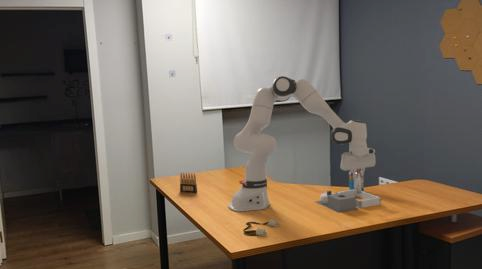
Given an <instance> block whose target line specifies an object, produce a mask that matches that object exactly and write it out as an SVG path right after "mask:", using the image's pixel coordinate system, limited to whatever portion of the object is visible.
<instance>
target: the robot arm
mask: <svg viewBox="0 0 482 269" xmlns="http://www.w3.org/2000/svg"><path fill="white" fill-rule="evenodd" d="M291 97H293V98H294V99H295V100H297V101H298V102H299V104H300V105H301V107H303V108H304V109H305V110H306V111H307V112H309V113H310V114H314V115H318V116H320V117H321V118H323V119H324V120H325V121H326V122H327V123H328V124H329V125H330V126H331V127H332V130H331V132H330V139H331V141H332V142H333V143H334V144H335V145H345V144H346V145H347V144H349V146H348V148H349V149H348V150H349V151H347V152H343V153H342V154H341V158H340V159H341V160H340V166H339V167H340V170H342V171H344V172H345V171H350V170H351V172H352V173H353V177H354V178H355V177H357V174H356V173H355V171H356V169H361V171H360V176H363V173H364V174H365V171H366V168H367V169H368V168H372V167H373V168H374V167H375V166H376V162H377V161H376V155H375V153H376V150H375V149H374V148H370V147H369V146H368V144H367V138H368V131H367V130H368V129H367V124H366V122H365V121H363V120H361V119H350V120H349V121H348V122H346V121H344V120H343V119H342V118H341V117H340V116H339V115H338V114H337V113H336V112H335V111H334V110H333V109H332V108H331V107H330V105H329V104H328V103H327V102H326V101H325V98H323V97H322V95H321V94H320V92H319V91H318V90H317V89H316V87H314V86H313V84H311V83H310V82H309V81H307V80H306V79H303V78H301V79H297V80H294V79H292V78H289V77H287V76H282V75H281V76H277V78H276V79H274V81H273V83H272V85H271V87H268V88H267V87H262V88H259V89H258V90H257V91H256V94H255V96H254V99H253V102H252V106H251V110H250V114H249V118H248V121H247V123H246V125H245V126H244V127H243V129H242V130H241V131H239V132H238V133H237V134H236V135H235V136H234V138H233V146H234V148H235V149H236V150H237V151H240V152H242V153H247V154H251V159H250V160H249V161H247V162H246V164H245V165H244V177H245V179H244V180H242V179H240V180H239V181H238V184H239V185H242V187H240V188H239V189H238V190H237V191H236V192H234V193H233V194H232V199H231V202H229V203H228V204H227V208H228V209H230V210H232V211H234V212H238V213H239V212H240V213H241V212H250V211H257V210H258V211H259V210H260V211H261V210H266V209H267V207H269V206H270V205H271V204H270V201H269V196H268V190H267V189H268V179H267V163H268V159H269V157H270V156H271V155H272V154H273V153H274V152H275V150H276V148H277V141H276V138H275V137H274V136H272V135H269V134H267V133H261V132H263V130H264V129H265V128H267V127H268V126H269V125H270V123H271V119H272V115H273V113H272V112H273V109H274V105H275V103H283V102H286V101H288V100H289V99H290V98H291Z"/></svg>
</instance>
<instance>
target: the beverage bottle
mask: <svg viewBox="0 0 482 269" xmlns="http://www.w3.org/2000/svg"><path fill="white" fill-rule="evenodd" d="M356 170H360V171H361V169H356ZM355 173H356V172H355ZM348 177H349V179H348V182H349V183H348V186H349V188H348V190H353V189H357V186H356V177H355V178H354V177H353V173H352V172H351V170H349V171H348ZM364 180H365V172H364V173H363V176H361V190H362V191H363V192H365V191H364V185H365V183H364Z"/></svg>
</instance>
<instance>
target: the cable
mask: <svg viewBox="0 0 482 269" xmlns="http://www.w3.org/2000/svg"><path fill="white" fill-rule="evenodd" d="M252 224H255V225H261V223H260V222H255V221H247V222H246V224H245V225H248V226H246V227H245V228H244V229H243V230H242V231H243V232H244V233H245V234H248V233H249V234H251V233H252V234H253V233H255V234H256V236H260V237H264V236H266V235H267V231H266V229H265V228H260V227H259V228H257V229H256V230H250V231H249V230H248V229H249V228H251V227H252ZM262 225H264V226H265V225H268V226H269V227H272V228H273V227H274V228H276V227H278V226H279V225H280V224H279V222H278V221H277V220H276V219H269V221H267V222H263V223H262ZM247 230H248V231H247Z"/></svg>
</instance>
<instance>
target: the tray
mask: <svg viewBox="0 0 482 269" xmlns="http://www.w3.org/2000/svg"><path fill="white" fill-rule="evenodd" d="M338 193H346V194H349V195H352V196H354V197H356V208H358V209H363V208H368V207H369V208H370V207H373V206H379V205H382V201H381V200H382V198H381V197H380V196H377V195H374V194H372V193H369V192H366V191H362V194H357V189H353V190H349V189H348V190H341V191H337V192H336V194H338ZM357 197H358V198H360V199H361V200H360V199H357ZM362 199H363V200H362Z"/></svg>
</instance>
